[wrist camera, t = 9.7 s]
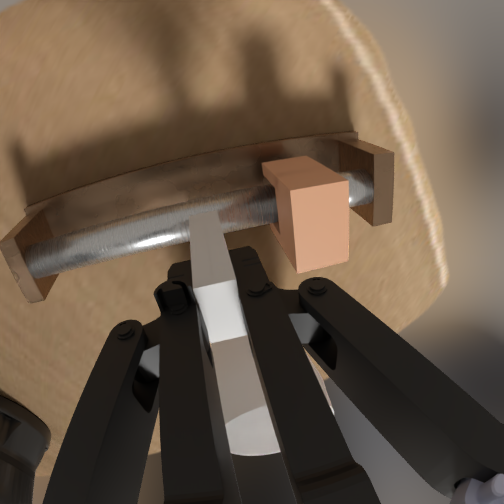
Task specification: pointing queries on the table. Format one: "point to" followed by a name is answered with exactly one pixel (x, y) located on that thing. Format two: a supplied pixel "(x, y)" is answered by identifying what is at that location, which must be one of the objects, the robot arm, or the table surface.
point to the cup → (246, 399)
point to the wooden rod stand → (182, 204)
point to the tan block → (310, 212)
